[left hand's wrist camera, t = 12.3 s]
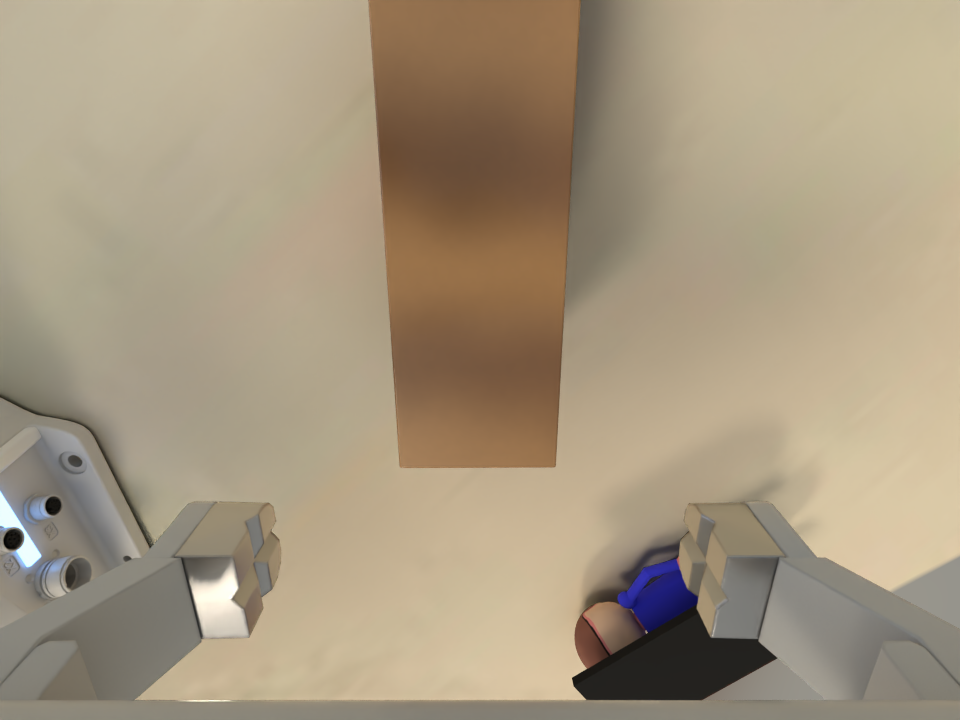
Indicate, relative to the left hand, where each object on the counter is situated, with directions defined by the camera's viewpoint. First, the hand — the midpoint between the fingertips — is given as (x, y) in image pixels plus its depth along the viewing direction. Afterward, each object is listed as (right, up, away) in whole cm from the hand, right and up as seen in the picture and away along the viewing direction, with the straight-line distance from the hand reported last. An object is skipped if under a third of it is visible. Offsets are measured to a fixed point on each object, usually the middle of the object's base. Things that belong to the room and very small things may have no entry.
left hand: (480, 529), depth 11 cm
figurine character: (+13, -12, +28) cm, 33 cm away
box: (0, +14, +18) cm, 23 cm away
